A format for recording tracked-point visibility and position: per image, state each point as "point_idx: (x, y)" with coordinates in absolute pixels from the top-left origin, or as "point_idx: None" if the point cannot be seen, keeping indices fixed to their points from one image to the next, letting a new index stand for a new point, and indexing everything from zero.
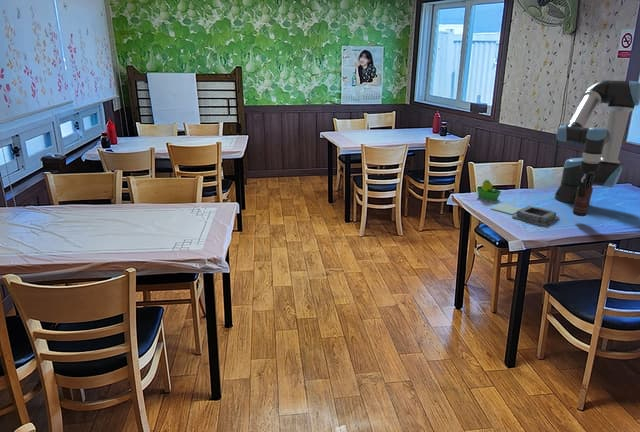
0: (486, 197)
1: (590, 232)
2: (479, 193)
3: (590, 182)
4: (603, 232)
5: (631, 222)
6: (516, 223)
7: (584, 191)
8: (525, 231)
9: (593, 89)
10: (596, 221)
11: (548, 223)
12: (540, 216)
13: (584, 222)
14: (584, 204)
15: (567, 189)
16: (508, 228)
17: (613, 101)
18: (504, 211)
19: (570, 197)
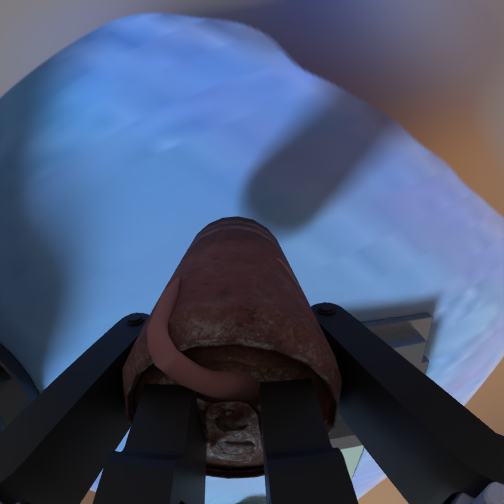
0: None
1: (358, 127)
2: None
3: (178, 468)
4: (299, 78)
5: (27, 85)
6: (445, 380)
7: (376, 347)
8: (498, 318)
9: None
10: (132, 183)
11: (400, 320)
12: (416, 365)
13: (209, 218)
14: (283, 257)
15: (5, 417)
16: (493, 359)
17: None
18: (357, 457)
19: (14, 385)
